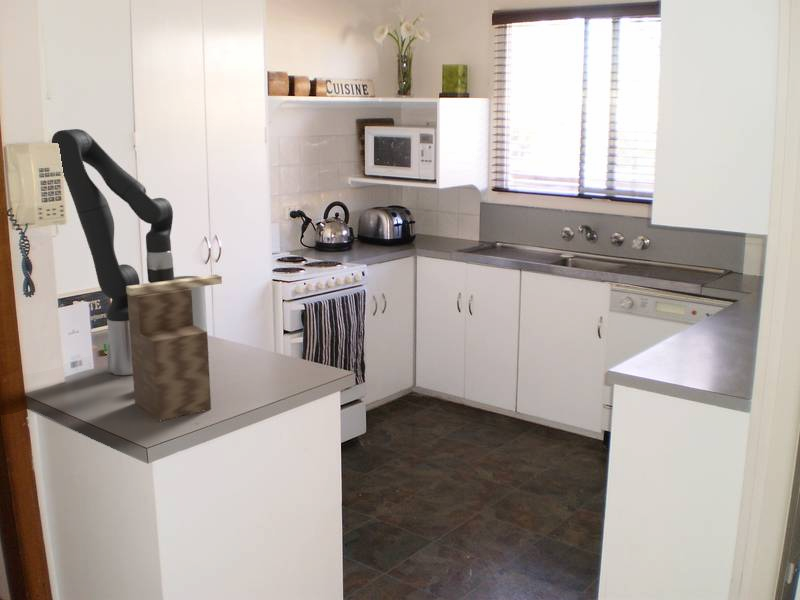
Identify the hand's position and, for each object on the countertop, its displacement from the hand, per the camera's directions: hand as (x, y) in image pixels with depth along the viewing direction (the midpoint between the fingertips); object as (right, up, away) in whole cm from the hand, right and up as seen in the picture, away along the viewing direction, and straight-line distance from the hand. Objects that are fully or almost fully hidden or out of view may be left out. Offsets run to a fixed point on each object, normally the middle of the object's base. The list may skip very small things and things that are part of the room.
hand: (164, 318), depth 258 cm
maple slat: (+9, +9, -23) cm, 26 cm away
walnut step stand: (+8, -24, -21) cm, 33 cm away
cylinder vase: (+1, -12, +27) cm, 29 cm away
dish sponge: (-21, -12, +30) cm, 38 cm away
